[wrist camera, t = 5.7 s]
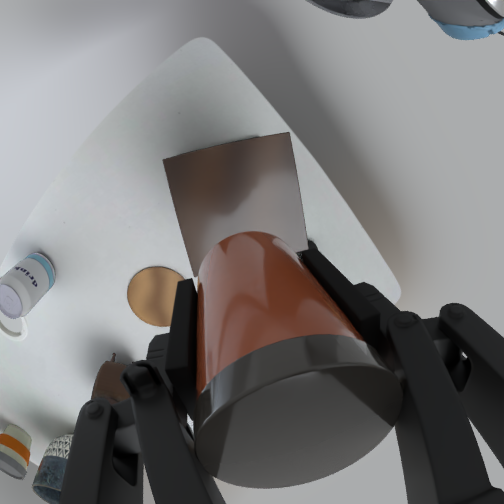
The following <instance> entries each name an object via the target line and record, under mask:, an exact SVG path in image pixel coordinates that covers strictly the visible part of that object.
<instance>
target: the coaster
mask: <svg viewBox="0 0 504 504" xmlns="http://www.w3.org/2000/svg"><path fill="white" fill-rule="evenodd" d="M182 280H185V279H184V278H183V277H182V276H181V275H180V274H178V273H177V272H175V271H173V270H171V269H168V268H164V267H151V268H147V269H144V270H142V271H140V272H139V273H137V274H136V275H135V276H134V277H133V279H132V280H131V282H130V284H129V287H128V292H127V297H128V302H129V305H130V307H131V309H132V311H133V312H134V313H135V315H136V316H137V317H139V318H140V319H141V320H142V321H144V322H146V323H148V324H150V325H154V326H159V327H167V326H171V319H172V313H173V306H174V300H175V294H176V288H177V283H178V281H182Z"/></svg>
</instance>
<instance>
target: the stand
mask: <svg viewBox="0 0 504 504" xmlns="http://www.w3.org/2000/svg"><path fill="white" fill-rule="evenodd" d="M163 164H164V168H165V172H166V176H167V180H168V184H169V188H170V192H171V196H172V200H173V204H174V208H175V211H176V215H177V219H178V222H179V226H180V230H181V233H182V237H183V240H184V244H185V247H186V251H187V254H188V258H189V261H190V264H191V268H192V271H193V274H194V277H197V276H198V273H199V269H200V266H201V264H202V262H203V260H204V258H205V256H206V255H207V254H208V252H209V251H210V250H211V249H212V248H213V247H214V246H215V245H216V244H217V243H219V242H220V241H222V240H223V239H225V238H227V237H229V236H231V235H234V234H237V233H241V232H247V231H258V232H265V233H269V234H272V235H274V236H276V237H278V238H280V239H282V240H283V241H285V242H286V243H287V244H288V245H289V246H290V247H291V248H292V249H293V250H294V252H295V253H296V252H300V251H304V250H308V249H309V247H308V240H307V233H306V226H305V220H304V213H303V207H302V200H301V194H300V188H299V182H298V176H297V170H296V165H295V159H294V154H293V148H292V143H291V138H290V133H289V132H286V133H280V134H274V135H268V136H262V137H256V138H251V139H246V140H241V141H236V142H231V143H226V144H222V145H217V146H213V147H209V148H204V149H200V150H196V151H192V152H188V153H184V154H180V155H177V156H174V157H170V158H166V159H163Z"/></svg>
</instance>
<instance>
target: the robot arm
mask: <svg viewBox="0 0 504 504" xmlns="http://www.w3.org/2000/svg"><path fill="white" fill-rule="evenodd" d="M417 1H418V2H419V3H420V4H421V5H422V6H423V7H424V9H426V11H427V12H428V14H429V16H430V18H431V19H433V20H434V21H435V22H436V23H437V24H438V25H439V26H440V27H441V29H442V30H443V31H444V32H445V33H446V34H447V35H449V36H451V37H452V38H455V39H460V40H474V39H480V38H485V37H488V36H489V35H490V34H495V33H499V34H501V35H504V33H503V32H501V30H502V29H503V28H504V0H417ZM302 257H303V263H304V264H305V265H306V266H307V268H308V269H309V270H310V271H311V273H312V274H313V275H314V276H315V277H316V279H317V280H318V281H319V282H320V284H321V285H322V286H323V287H324V289H325V290H326V291H327V292H328V294H329V295H330V296H331V297H332V299H333V300H334V301H335V303H336V304H337V305H338V306H339V308H340V309H341V310H342V311H343V313H344V314H345V315H346V317H347V318H348V319H349V320H350V322H351V323H352V324H353V326H354V327H355V328H356V329H357V331H358V332H359V333H360V335H361V336H362V337H363V338H364V340H365V341H366V342H367V344H369V345H370V346H372V347H374V348H375V349H376V350H377V351H378V352H379V353H380V355H381V356H382V357H383V358H384V360H385V361H386V362H387V364H388V365H389V366H390V368H391V369H392V370H393V371H394V373H395V374H396V375H397V377H398V378H399V380H400V381H401V383H402V386H403V390H404V398H403V403H402V407H401V411H400V415H399V418H398V420H397V422H396V424H395V425H394V426H395V430H396V435H397V440H398V445H399V451H400V456H401V461H402V467H403V473H404V479H405V485H406V492H407V500H408V504H504V492H503V491H502V490H501V489H499V488H495V487H493V486H492V485H491V483H490V481H489V478H488V474H487V471H486V468H485V464H484V461H483V458H482V456H481V452H480V449H479V446H478V443H477V441H476V438H475V435H474V432H473V430H472V427H471V424H470V422H469V419H470V421H471V422H472V423H473V425H474V426H475V427H476V429H477V430H478V432H479V433H480V434H481V436H482V437H483V439H484V440H485V442H486V443H487V444H488V446H489V447H490V449H491V450H492V452H493V453H494V454H495V456H496V457H497V459H498V460H499V462H500V463H501V465H502V466H503V468H504V338H503V337H502V336H501V335H500V334H499V333H498V332H496V331H495V330H494V329H493V328H492V327H491V326H490V325H488V324H487V323H486V322H485V321H484V320H483V319H481V318H480V317H479V316H478V315H477V314H475V313H474V312H473V311H472V310H471V309H469V308H468V307H466V306H464V305H462V304H459V303H450V304H446V305H445V306H443V307H442V308H441V310H440V314H439V317H435V318H428V319H421V318H420V317H419V316H418V315H417V314H415V313H413V312H409V311H400V310H399V309H398V308H397V307H396V306H395V305H394V304H392V303H391V302H390V301H389V300H388V299H387V298H386V297H384V295H383V294H382V293H380V292H379V291H378V290H377V289H376V288H375V287H374V286H373V285H370V284H368V283H365V282H362V283H359V284H356V285H353V284H352V283H351V282H350V281H349V280H348V279H347V278H346V277H345V276H344V275H343V274H342V273H341V272H340V271H339V270H338V269H337V268H336V267H335V266H334V265H333V264H332V263H331V262H330V261H329V260H328V259H327V258H326V257H324V256H323V255H322V254H321V253H320V252H319V251H318V250H317V249H316V248H313V249H309V250H305V251H302ZM196 322H197V292H196V289H195V286H194V282H193V279H192V278H190V279H186V280H182V281H178V283H177V288H176V294H175V300H174V306H173V313H172V319H171V326H170V333H166V334H161V335H156V336H155V337H154V338H153V339H152V341H151V342H150V343H149V348H148V353H147V357H146V359H147V360H140V361H136V362H134V363H132V364H130V365H128V366H127V367H126V368H125V369H124V370H123V371H122V373H121V374H120V381H121V383H122V384H123V386H124V387H125V389H126V391H127V392H128V394H129V395H130V398H128V399H126V400H123V401H121V402H118V403H115V404H112V405H111V403H110V402H109V401H108V400H107V399H105V398H94V399H91V400H90V401H88V402H86V403H85V404H84V405H83V406H82V408H81V410H80V412H79V416H78V419H77V423H76V427H75V430H74V434H73V438H72V442H71V446H70V450H69V455H68V459H67V463H66V468H65V473H64V478H63V483H62V488H61V494H60V500H59V504H143V469H144V465H145V469H146V472H147V476H148V479H149V483H150V486H151V490H152V494H153V497H154V500H155V503H156V504H226V503H225V501H224V499H223V497H222V495H221V493H220V491H219V489H218V487H217V485H216V483H215V481H214V479H213V477H212V475H210V474H209V473H208V472H207V471H206V470H205V469H204V467H203V466H202V465H201V463H200V462H199V461H198V459H197V458H196V456H195V452H194V434H193V432H192V429H191V428H190V426H189V424H188V423H187V413H188V415H189V417H190V418H191V420H192V421H193V412H194V408H195V404H196ZM463 352H464V353H465V354H466V356H467V358H465V357H464V356H463V355H462V353H463ZM468 418H469V419H468Z"/></svg>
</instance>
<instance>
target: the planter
mask: <svg viewBox="0 0 504 504" xmlns="http://www.w3.org/2000/svg"><path fill="white" fill-rule="evenodd" d="M72 438H73V434H68V435H63V436H60V437H57V438H56V439H54V440H53V441H52V442H51V443H50V445H49V446H48V447H47V449H46V451H45V454H44V456H43V458H42V461H41V463H40V466H39V468H38V471H37V474H36V476H35V479H34V482H33V485H32V489H33V491H34V492H35V493H36V494H37V495H38V496H39V497H40V498H42V499H43V500H44V501H46V502H48V503H49V504H59V500H60V494H61V488H62V483H63V478H64V473H65V468H66V463H67V459H68V455H69V450H70V446H71V442H72Z"/></svg>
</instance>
